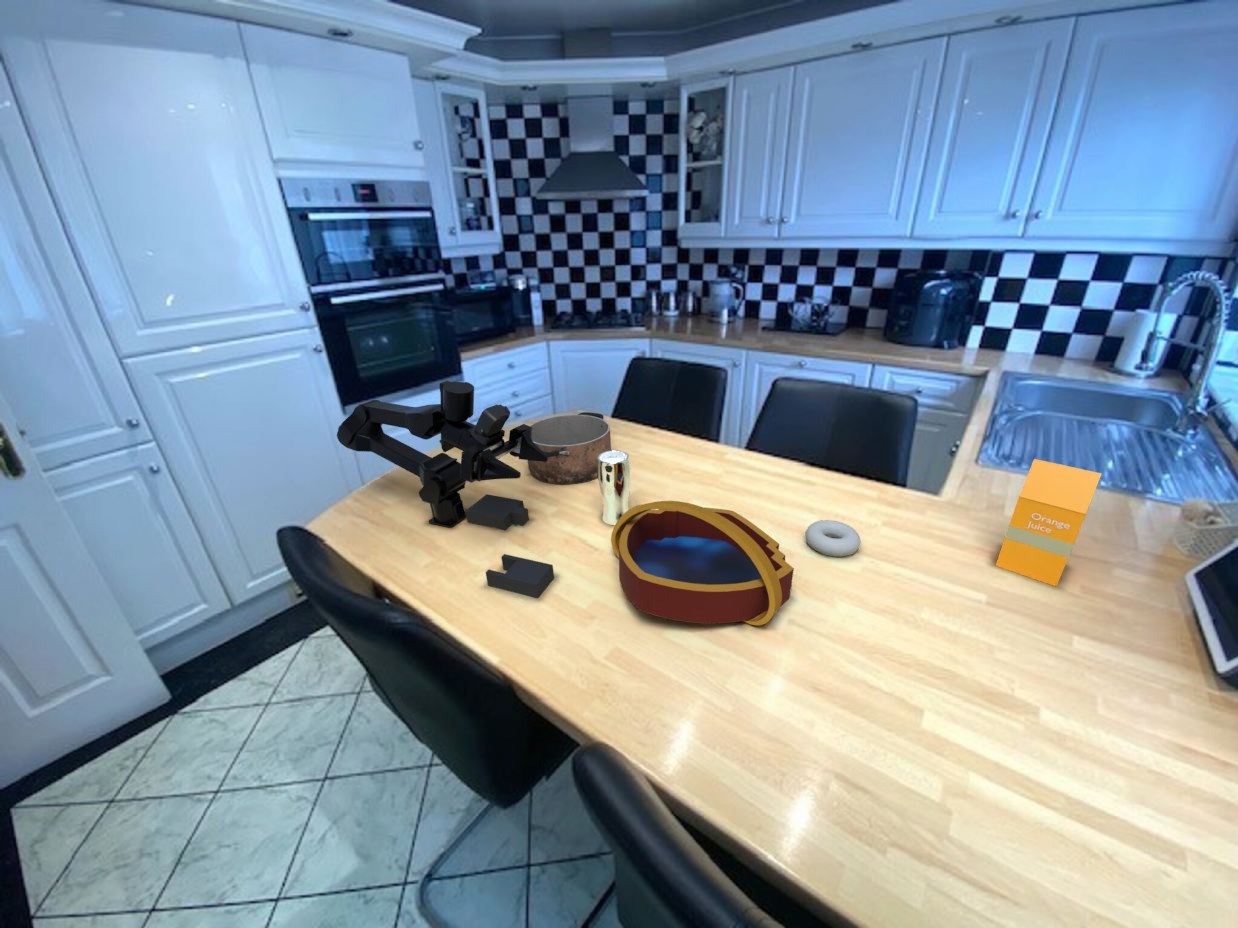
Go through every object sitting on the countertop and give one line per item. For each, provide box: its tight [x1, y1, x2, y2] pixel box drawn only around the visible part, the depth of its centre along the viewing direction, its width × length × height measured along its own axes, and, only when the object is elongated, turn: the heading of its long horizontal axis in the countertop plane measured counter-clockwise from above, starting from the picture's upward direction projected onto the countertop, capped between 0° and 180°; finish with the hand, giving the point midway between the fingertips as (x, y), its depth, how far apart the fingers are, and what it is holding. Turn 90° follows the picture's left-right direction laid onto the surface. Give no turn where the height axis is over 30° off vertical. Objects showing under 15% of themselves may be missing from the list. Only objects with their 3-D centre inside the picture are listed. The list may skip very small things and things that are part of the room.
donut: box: [805, 519, 861, 557], centre depth 98 cm, size 10×4×10 cm
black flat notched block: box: [485, 553, 555, 599], centre depth 92 cm, size 10×6×3 cm, turn 68°
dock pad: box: [464, 494, 530, 531], centre depth 113 cm, size 13×8×3 cm, turn 68°
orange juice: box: [995, 458, 1103, 587], centre depth 87 cm, size 8×9×20 cm
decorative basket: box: [610, 500, 795, 626], centre depth 88 cm, size 34×29×15 cm
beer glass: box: [597, 449, 632, 526], centre depth 108 cm, size 7×7×15 cm
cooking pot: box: [527, 411, 612, 485], centre depth 134 cm, size 30×22×11 cm
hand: (534, 467), depth 96 cm, fingers open, 9 cm apart
